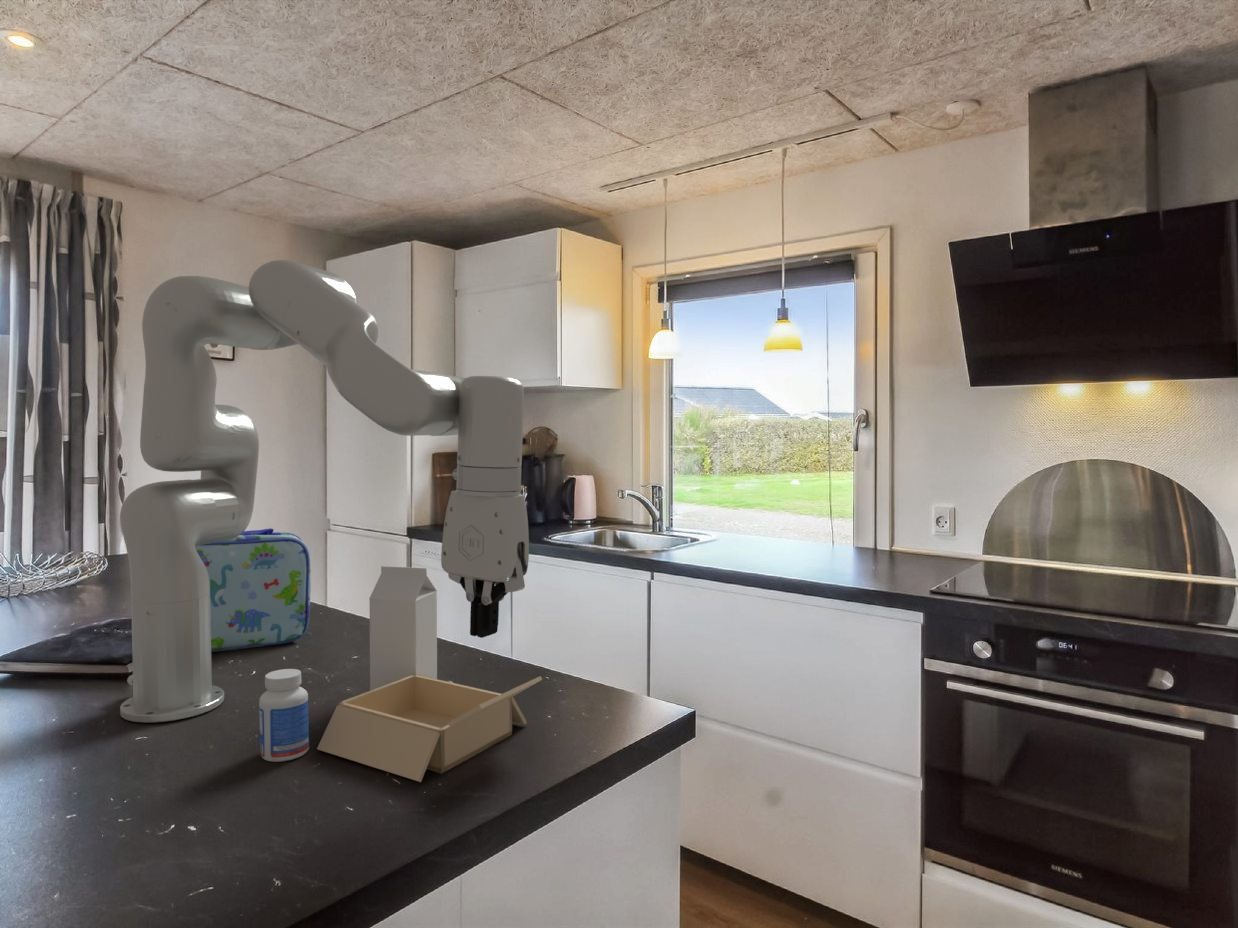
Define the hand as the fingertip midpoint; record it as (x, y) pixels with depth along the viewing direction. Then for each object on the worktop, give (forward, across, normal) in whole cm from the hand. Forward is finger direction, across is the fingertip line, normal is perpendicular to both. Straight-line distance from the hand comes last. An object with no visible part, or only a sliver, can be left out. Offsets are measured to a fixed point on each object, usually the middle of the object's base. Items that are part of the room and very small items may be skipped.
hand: (483, 633), depth 92 cm
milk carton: (+16, -23, +10) cm, 30 cm away
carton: (+15, -11, 0) cm, 19 cm away
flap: (+9, 0, 0) cm, 9 cm away
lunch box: (+18, -68, +13) cm, 71 cm away
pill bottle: (+16, -20, -12) cm, 28 cm away
